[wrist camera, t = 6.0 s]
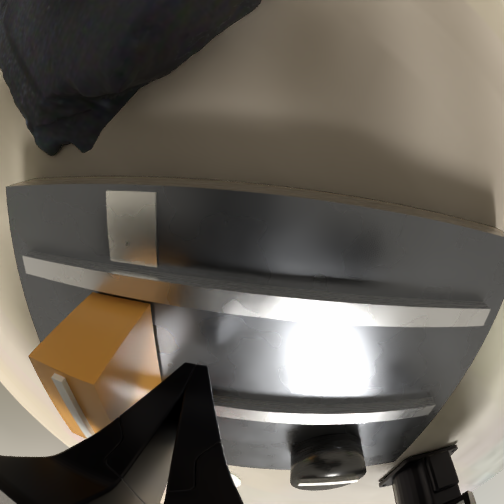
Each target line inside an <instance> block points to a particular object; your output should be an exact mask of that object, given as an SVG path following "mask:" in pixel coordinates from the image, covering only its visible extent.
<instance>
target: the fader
mask: <svg viewBox="0 0 504 504" xmlns="http://www.w3.org/2000/svg"><path fill="white" fill-rule="evenodd" d="M29 358H30V361H31V363H32V365H33V367H34V369H35V371H36V373H37V375H38V377H39V379H40V381H41V382H42V384H43V386H44V388H45V390H46V392H47V393H48V395H49V397H50V399H51V400H52V402H53V404H54V405H55V407H56V409H57V410H58V412H59V413H60V415H61V416H62V418H63V420H64V421H65V423H66V424H67V426H68V427H69V429H70V430H71V431H72V432H73V433H75V434H77V435H79V436H81V437H83V438H86V439H87V438H89V437H90V436H92V435H94V434H95V433H97V432H98V431H100V430H101V429H103V428H104V427H106V426H107V425H108V424H110V423H111V422H112V421H114V420H115V419H116V418H117V417H119V416H120V415H121V414H123V413H124V412H125V411H126V410H128V409H129V408H130V407H131V406H133V405H134V404H135V403H136V402H138V401H139V400H140V399H141V398H143V397H144V396H145V395H146V394H147V393H149V392H150V391H151V390H152V389H154V388H155V387H156V386H157V385H158V384H160V383H161V382H162V381H161V375H160V370H159V364H158V358H157V352H156V345H155V338H154V331H153V323H152V315H151V306H150V304H149V303H143V302H138V301H133V300H128V299H123V298H118V297H113V296H108V295H104V294H99V293H95V292H92V293H91V294H90V295H89V296H88V297H87V298H86V299H85V300H84V301H82V302H81V303H80V304H79V305H78V306H77V307H76V308H75V309H74V310H73V311H72V312H71V313H70V314H69V315H68V316H67V317H66V318H65V319H64V320H63V321H62V322H61V323H60V324H59V325H58V326H57V327H56V328H55V329H54V330H53V331H52V332H51V333H50V334H49V335H48V336H47V337H46V338H45V339H44V340H43V341H42V342H41V343H40V344H39V345H38V346H37V347H36V348H35V349H34V350H33V352H32V353H31V354H30V355H29ZM119 418H120V417H119Z"/></svg>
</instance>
